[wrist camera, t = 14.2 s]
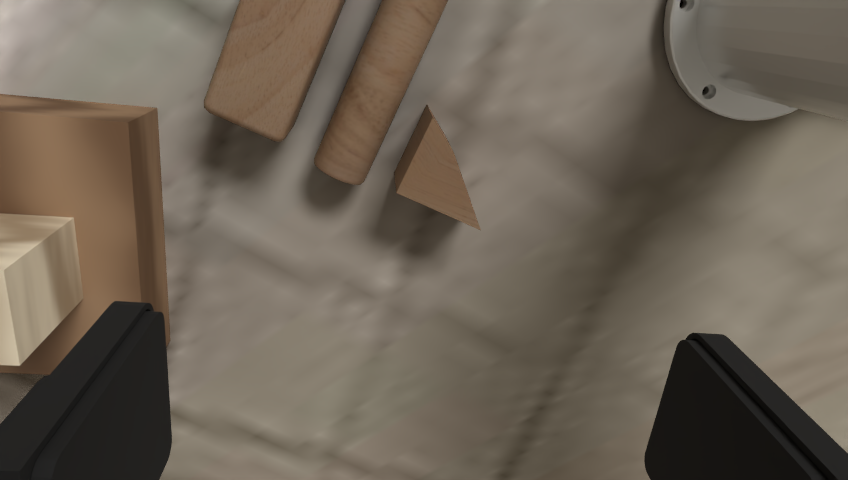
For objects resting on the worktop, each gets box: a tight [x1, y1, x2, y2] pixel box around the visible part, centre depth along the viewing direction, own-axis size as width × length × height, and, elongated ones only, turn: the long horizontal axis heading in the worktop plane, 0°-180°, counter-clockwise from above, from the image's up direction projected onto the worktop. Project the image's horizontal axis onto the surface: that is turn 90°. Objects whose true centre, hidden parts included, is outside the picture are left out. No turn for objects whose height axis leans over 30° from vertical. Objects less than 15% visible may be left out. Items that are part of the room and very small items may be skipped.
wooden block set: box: [204, 0, 480, 230], centre depth 33 cm, size 17×6×18 cm
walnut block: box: [0, 94, 170, 375], centre depth 36 cm, size 12×16×5 cm
